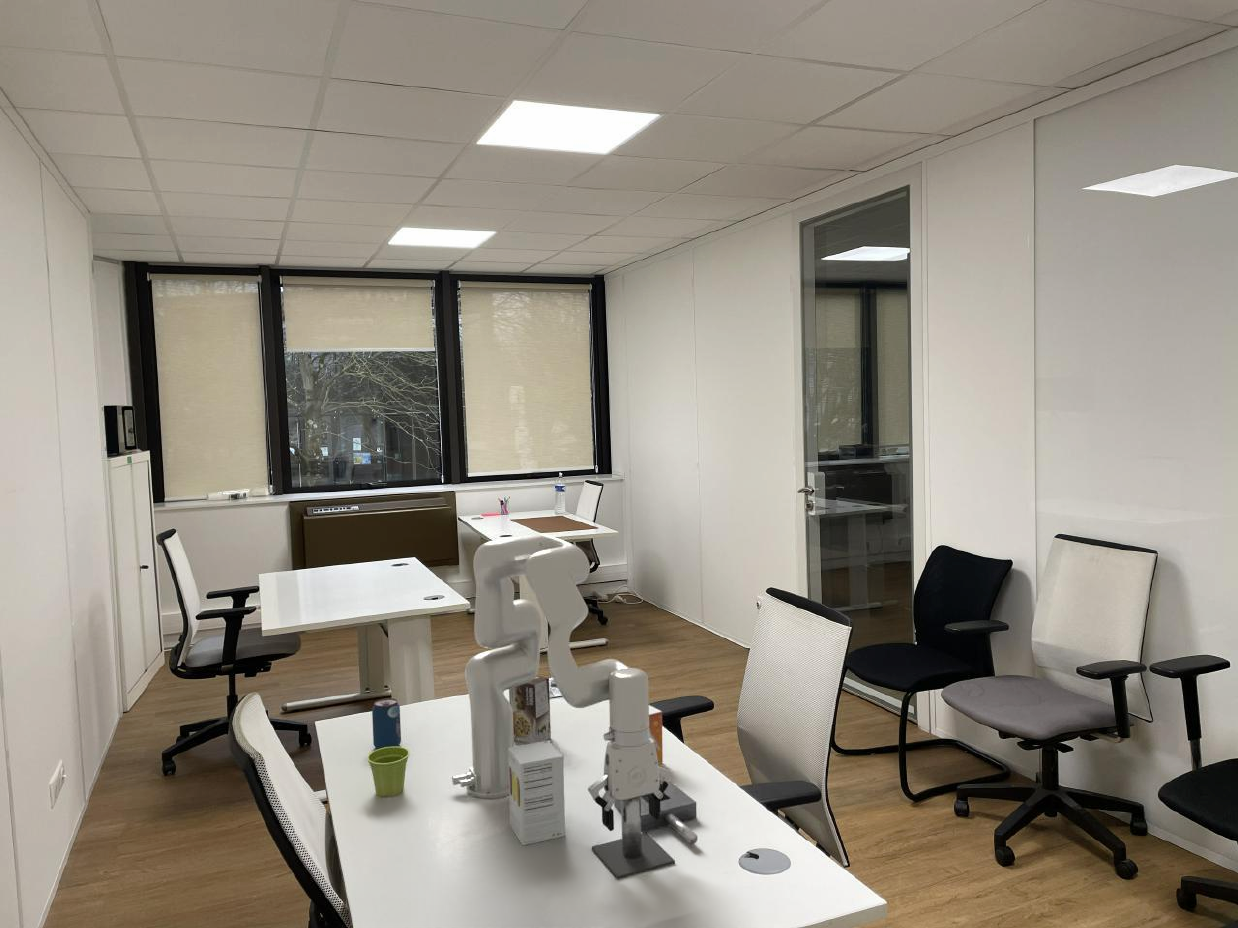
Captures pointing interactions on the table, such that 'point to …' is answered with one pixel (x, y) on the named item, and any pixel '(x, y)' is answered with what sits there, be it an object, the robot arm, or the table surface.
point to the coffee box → (531, 710)
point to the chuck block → (669, 812)
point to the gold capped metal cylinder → (631, 827)
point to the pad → (625, 866)
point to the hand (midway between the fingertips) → (631, 821)
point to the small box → (656, 731)
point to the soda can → (386, 723)
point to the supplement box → (536, 792)
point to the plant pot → (389, 769)
